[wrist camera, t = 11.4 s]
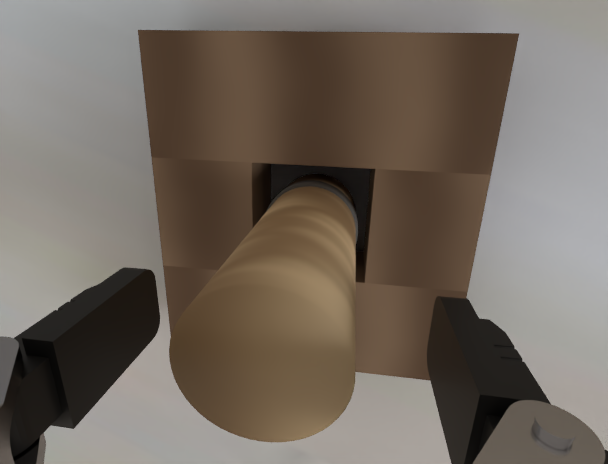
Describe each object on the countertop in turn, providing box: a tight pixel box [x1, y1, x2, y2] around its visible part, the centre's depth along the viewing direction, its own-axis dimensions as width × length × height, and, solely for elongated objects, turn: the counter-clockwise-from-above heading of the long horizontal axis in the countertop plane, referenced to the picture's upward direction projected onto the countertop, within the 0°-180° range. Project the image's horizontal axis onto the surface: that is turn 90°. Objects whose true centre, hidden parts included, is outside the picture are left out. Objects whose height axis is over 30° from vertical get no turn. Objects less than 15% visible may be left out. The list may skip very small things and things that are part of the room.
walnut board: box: [138, 30, 519, 380], centre depth 19 cm, size 15×16×4 cm
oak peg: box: [169, 174, 358, 442], centre depth 14 cm, size 4×4×14 cm
